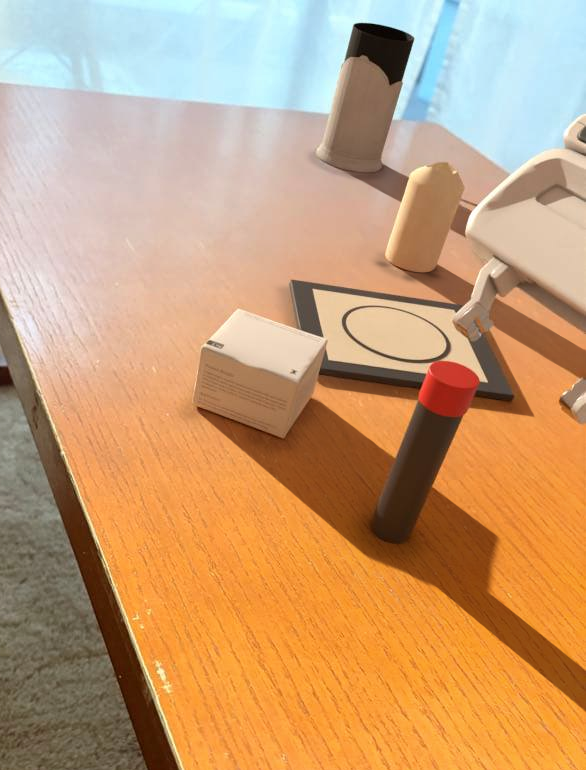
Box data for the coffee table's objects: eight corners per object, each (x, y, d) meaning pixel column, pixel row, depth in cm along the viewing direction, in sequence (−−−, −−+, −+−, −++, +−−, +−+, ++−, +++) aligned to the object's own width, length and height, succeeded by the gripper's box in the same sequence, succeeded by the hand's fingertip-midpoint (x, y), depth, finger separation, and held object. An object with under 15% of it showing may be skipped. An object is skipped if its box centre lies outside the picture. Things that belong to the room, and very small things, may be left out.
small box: (314, 394, 71) (331, 338, 68) (283, 442, 66) (300, 383, 62) (225, 362, 73) (238, 305, 70) (187, 405, 67) (199, 346, 64)
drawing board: (467, 311, 87) (470, 304, 87) (512, 401, 75) (515, 394, 75) (289, 284, 86) (290, 277, 85) (305, 372, 74) (307, 365, 73)
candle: (397, 244, 97) (428, 151, 91) (443, 263, 95) (478, 169, 89) (375, 258, 94) (406, 161, 87) (423, 278, 92) (457, 181, 85)
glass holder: (304, 154, 115) (335, 25, 105) (352, 135, 124) (384, 14, 114) (364, 177, 112) (402, 46, 102) (408, 155, 121) (447, 33, 112)
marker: (407, 517, 61) (473, 364, 53) (415, 547, 59) (485, 391, 51) (365, 512, 61) (424, 357, 53) (371, 541, 59) (435, 384, 51)
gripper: (858, 320, 48) (652, 495, 50) (578, 172, 61) (423, 318, 63) (868, 248, 43) (639, 445, 45) (562, 103, 56) (394, 264, 58)
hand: (512, 370), depth 54 cm, fingers open, 8 cm apart
